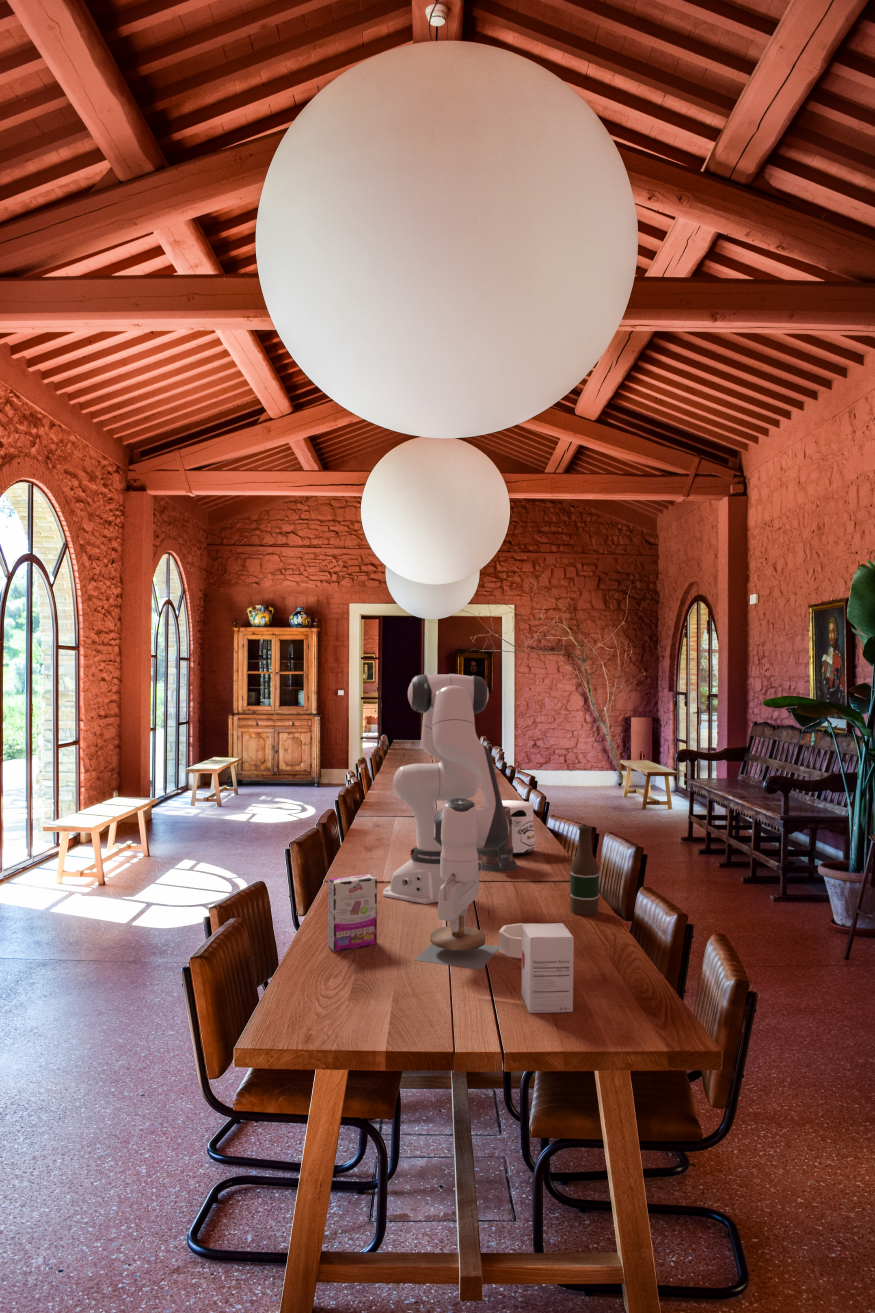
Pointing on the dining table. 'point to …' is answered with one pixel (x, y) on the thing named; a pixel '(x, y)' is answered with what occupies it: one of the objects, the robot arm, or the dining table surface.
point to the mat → (459, 956)
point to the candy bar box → (352, 912)
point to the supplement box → (547, 968)
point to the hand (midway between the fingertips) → (457, 928)
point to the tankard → (499, 853)
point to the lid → (458, 937)
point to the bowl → (511, 940)
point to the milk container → (521, 826)
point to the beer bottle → (584, 877)
